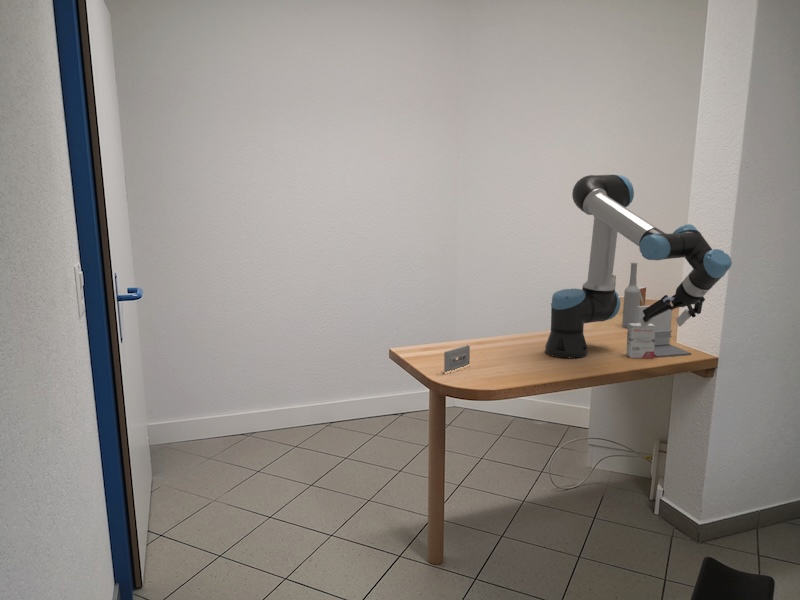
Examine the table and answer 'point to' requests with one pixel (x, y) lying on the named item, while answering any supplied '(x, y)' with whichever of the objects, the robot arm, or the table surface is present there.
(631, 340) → the ink box
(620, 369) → the table surface
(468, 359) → the cassette
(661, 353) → the grey display stand
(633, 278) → the bottle
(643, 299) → the small box
